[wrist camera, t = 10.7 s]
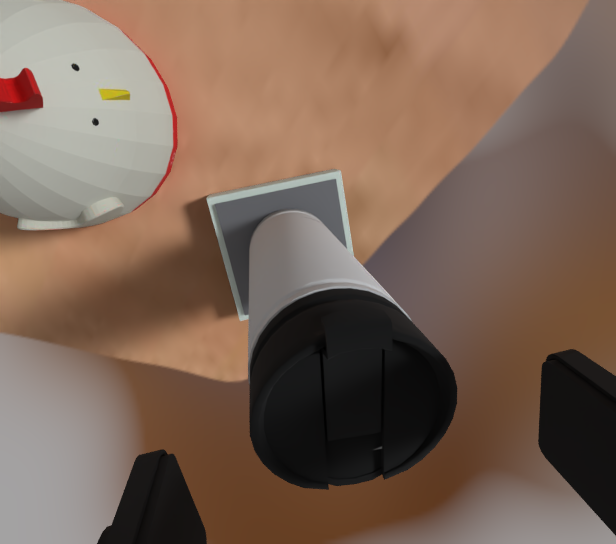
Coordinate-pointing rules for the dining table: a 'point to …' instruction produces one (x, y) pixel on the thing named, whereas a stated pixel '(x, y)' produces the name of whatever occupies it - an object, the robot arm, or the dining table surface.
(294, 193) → the stand
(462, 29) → the dining table surface
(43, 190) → the kitchen timer
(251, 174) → the dining table surface
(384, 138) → the dining table surface
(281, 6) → the dining table surface
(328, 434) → the travel mug
